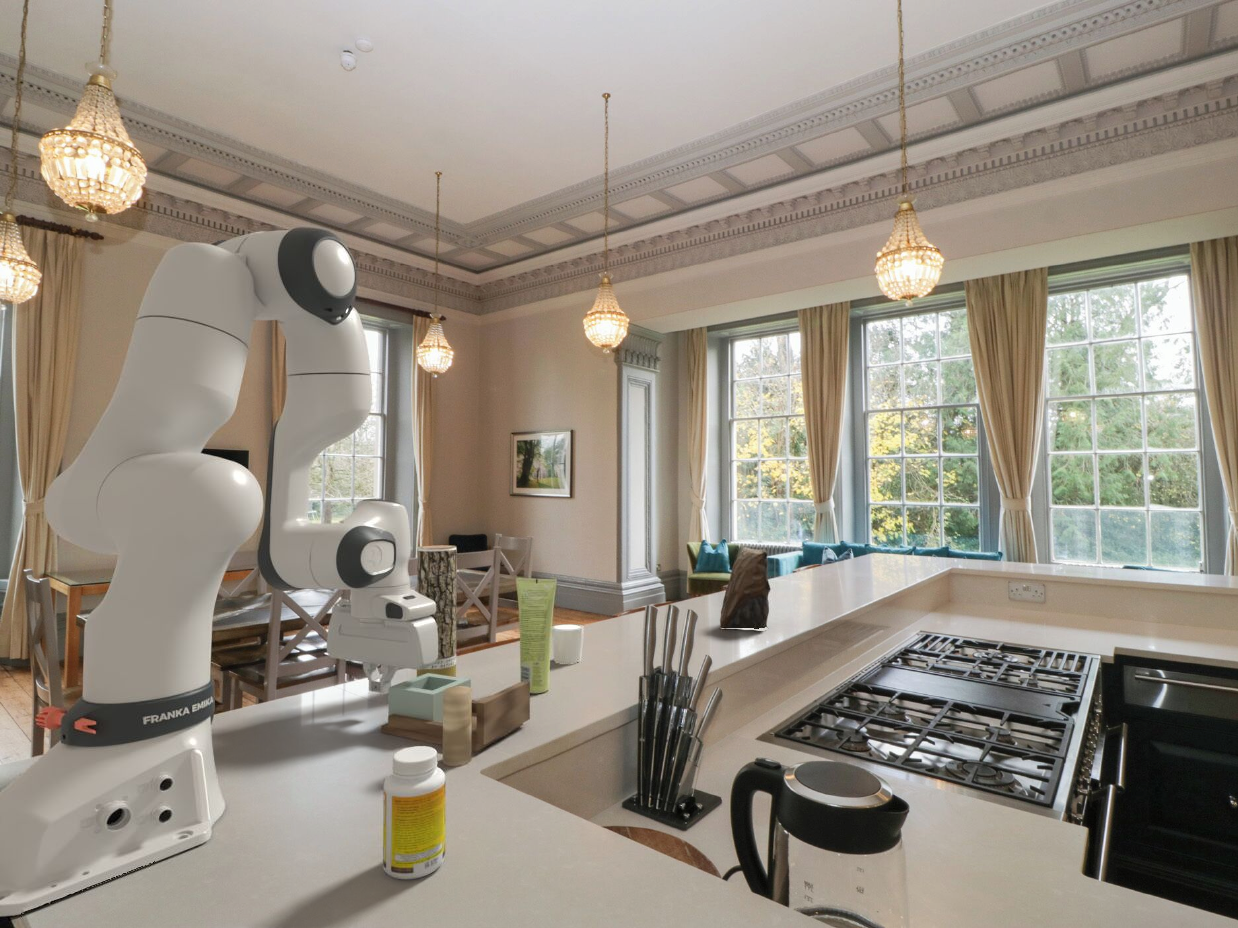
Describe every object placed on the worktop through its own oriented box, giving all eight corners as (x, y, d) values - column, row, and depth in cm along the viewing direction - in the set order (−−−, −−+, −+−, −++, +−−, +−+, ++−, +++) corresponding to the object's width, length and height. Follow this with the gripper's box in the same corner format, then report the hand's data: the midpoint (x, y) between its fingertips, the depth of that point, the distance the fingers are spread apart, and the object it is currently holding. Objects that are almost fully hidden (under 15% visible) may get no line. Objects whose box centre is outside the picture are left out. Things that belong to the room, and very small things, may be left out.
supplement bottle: (456, 864, 62) (457, 752, 62) (401, 890, 58) (403, 771, 58) (425, 842, 66) (425, 737, 66) (371, 866, 62) (372, 754, 62)
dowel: (459, 767, 83) (459, 695, 84) (436, 763, 85) (437, 692, 85) (477, 757, 87) (477, 687, 87) (455, 753, 88) (455, 684, 89)
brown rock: (736, 620, 178) (735, 545, 179) (782, 625, 171) (781, 547, 172) (717, 628, 167) (716, 549, 168) (765, 634, 160) (764, 551, 161)
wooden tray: (483, 752, 88) (483, 703, 88) (381, 732, 96) (381, 687, 96) (529, 725, 98) (529, 681, 99) (433, 709, 106) (433, 668, 106)
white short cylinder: (547, 658, 138) (547, 624, 139) (579, 655, 140) (579, 622, 141) (554, 666, 132) (554, 631, 132) (588, 663, 134) (587, 628, 134)
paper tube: (461, 682, 121) (462, 545, 122) (448, 694, 114) (448, 548, 115) (425, 681, 121) (426, 545, 122) (410, 693, 115) (411, 548, 116)
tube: (545, 684, 120) (545, 575, 121) (557, 691, 115) (557, 578, 116) (515, 688, 117) (515, 577, 118) (526, 696, 112) (527, 580, 113)
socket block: (433, 730, 94) (433, 694, 94) (388, 721, 97) (388, 687, 97) (470, 712, 101) (470, 679, 101) (427, 704, 105) (427, 673, 105)
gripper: (317, 601, 106) (316, 688, 105) (416, 610, 97) (415, 705, 96) (348, 595, 111) (347, 678, 111) (444, 603, 103) (444, 693, 102)
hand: (380, 691), depth 104 cm, fingers closed
